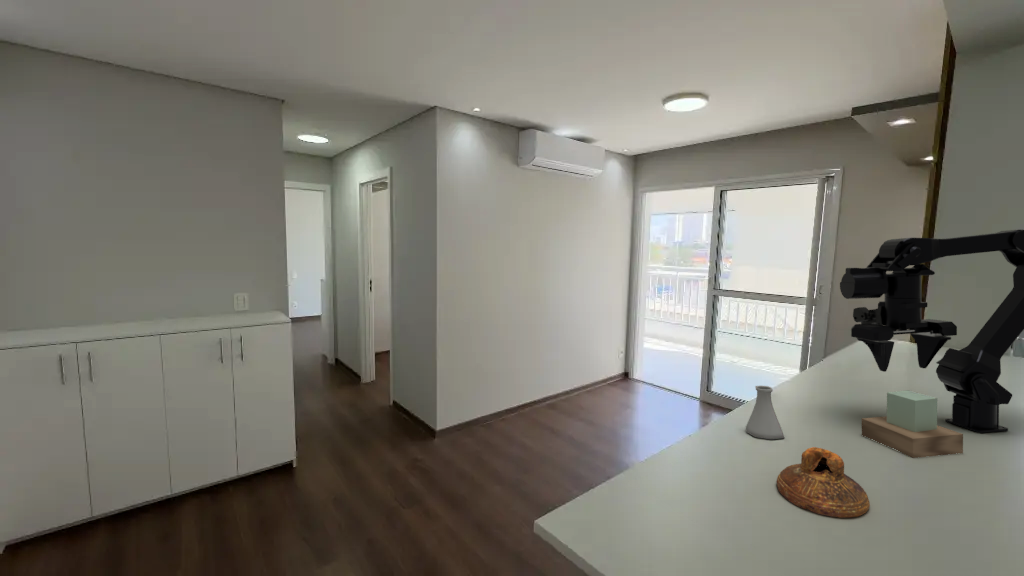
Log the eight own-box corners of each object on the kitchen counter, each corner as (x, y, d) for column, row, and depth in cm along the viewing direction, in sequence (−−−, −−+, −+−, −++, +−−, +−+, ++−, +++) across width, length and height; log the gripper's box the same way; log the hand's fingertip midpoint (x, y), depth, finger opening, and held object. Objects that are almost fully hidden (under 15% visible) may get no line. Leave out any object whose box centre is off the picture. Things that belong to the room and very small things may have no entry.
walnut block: (906, 433, 85) (906, 414, 85) (962, 455, 75) (963, 434, 75) (861, 437, 84) (861, 418, 84) (913, 460, 74) (913, 438, 74)
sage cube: (907, 419, 83) (908, 390, 82) (936, 429, 78) (937, 398, 77) (886, 422, 82) (886, 392, 81) (914, 432, 77) (915, 400, 76)
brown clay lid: (883, 502, 62) (883, 455, 62) (847, 530, 56) (847, 479, 56) (799, 470, 72) (798, 430, 72) (760, 492, 67) (760, 448, 66)
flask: (791, 441, 83) (791, 393, 83) (752, 440, 85) (751, 392, 84) (775, 427, 90) (775, 382, 90) (740, 426, 92) (739, 382, 91)
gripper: (904, 292, 96) (904, 358, 97) (829, 297, 95) (830, 364, 95) (959, 295, 85) (959, 369, 86) (875, 301, 84) (876, 376, 84)
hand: (902, 369), depth 88 cm, fingers open, 9 cm apart
